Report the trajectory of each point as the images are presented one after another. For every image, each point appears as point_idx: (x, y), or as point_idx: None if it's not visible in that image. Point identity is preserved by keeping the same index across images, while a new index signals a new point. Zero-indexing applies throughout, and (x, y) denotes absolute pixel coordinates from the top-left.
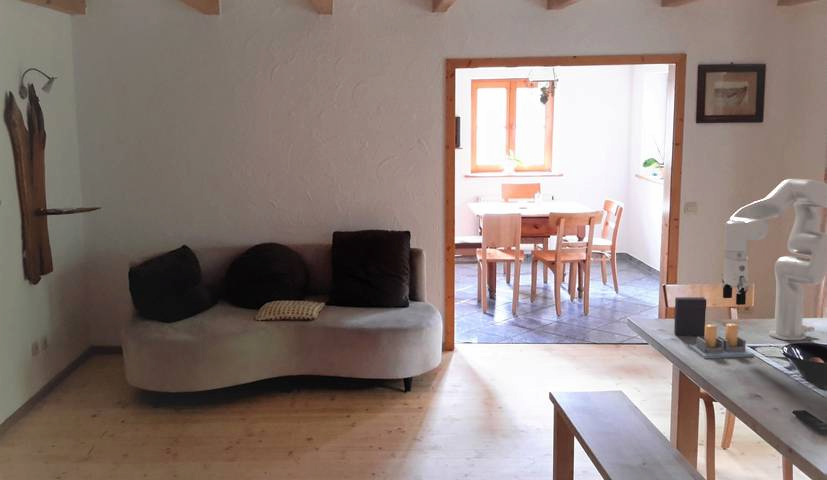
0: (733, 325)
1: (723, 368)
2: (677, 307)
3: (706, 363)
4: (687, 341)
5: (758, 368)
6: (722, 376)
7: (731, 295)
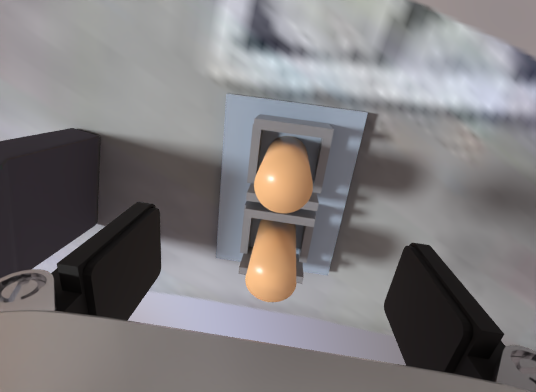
0: (294, 186)
1: None
2: None
3: (367, 288)
4: None
5: (476, 178)
6: None
7: (148, 221)
